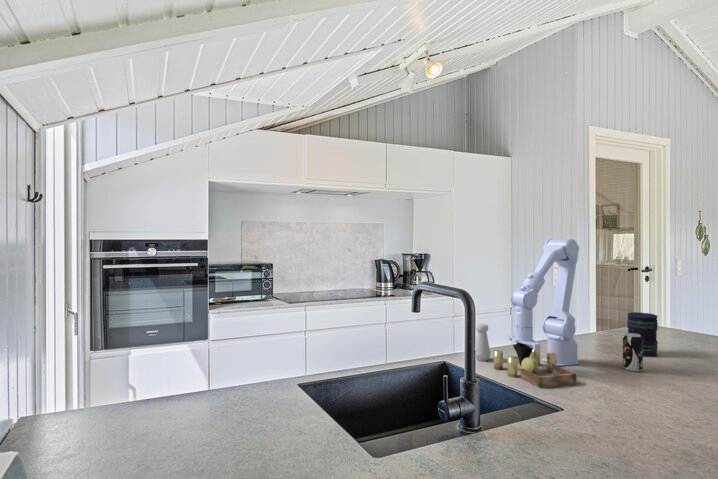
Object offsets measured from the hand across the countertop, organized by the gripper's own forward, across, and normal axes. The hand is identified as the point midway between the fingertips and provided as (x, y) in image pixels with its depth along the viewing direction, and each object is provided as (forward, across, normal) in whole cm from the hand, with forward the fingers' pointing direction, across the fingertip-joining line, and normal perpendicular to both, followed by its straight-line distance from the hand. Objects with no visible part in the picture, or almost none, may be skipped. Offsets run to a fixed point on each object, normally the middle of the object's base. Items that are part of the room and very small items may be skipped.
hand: (523, 366), depth 149 cm
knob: (+1, +3, 0) cm, 4 cm away
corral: (+1, +12, 0) cm, 12 cm away
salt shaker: (+2, -14, -7) cm, 16 cm away
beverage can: (+1, +10, +35) cm, 37 cm away
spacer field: (+1, 0, 0) cm, 1 cm away
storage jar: (+1, -5, +56) cm, 56 cm away
